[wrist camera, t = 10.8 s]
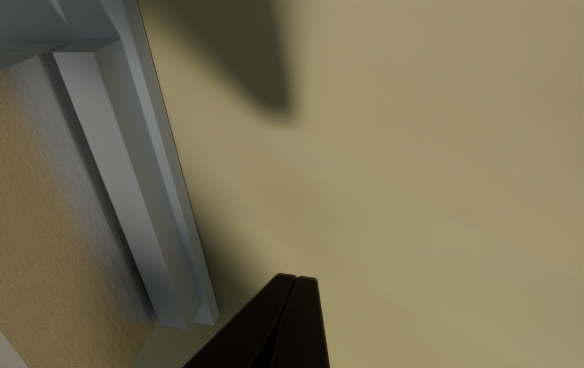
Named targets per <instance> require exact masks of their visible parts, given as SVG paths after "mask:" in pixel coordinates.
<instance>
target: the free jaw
mask: <svg viewBox="0 0 584 368" xmlns="http://www.w3.org/2000/svg"><path fill="white" fill-rule="evenodd" d="M67 45H68V44H67V42H64V43H0V368H129V367H130V366H131V364H132V362H133V361H134V359H135V357H136V356H137V354H138V353H139V351H140V349H141V348H142V346H143V344H144V343H145V341H146V339H147V338H148V336H149V334H150V333H151V331H152V329H153V328H154V326H155V324H156V323H157V321H158V318H157V315H156V313H155V310H154V308H153V305H152V303H151V300H150V298H149V295H148V292H147V290H146V287H145V285H144V282H143V280H142V277H141V275H140V272H139V270H138V267H137V265H136V262H135V260H134V257H133V255H132V252H131V250H130V247H129V244H128V242H127V239H126V237H125V234H124V232H123V229H122V227H121V224H120V222H119V219H118V217H117V214H116V212H115V209H114V207H113V204H112V202H111V199H110V196H109V194H108V191H107V189H106V186H105V184H104V181H103V179H102V176H101V174H100V171H99V169H98V166H97V164H96V161H95V159H94V156H93V153H92V151H91V148H90V146H89V143H88V141H87V138H86V136H85V133H84V131H83V128H82V126H81V123H80V121H79V118H78V116H77V113H76V111H75V108H74V105H73V103H72V100H71V98H70V95H69V93H68V90H67V88H66V85H65V83H64V80H63V78H62V75H61V73H60V70H59V68H58V65H57V63H56V60H55V57H54V55H53V52H54V51H56V50H58V49H61V48H63V47H65V46H67Z"/></svg>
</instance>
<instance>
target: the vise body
mask: <svg viewBox="0 0 584 368" xmlns="http://www.w3.org/2000/svg"><path fill="white" fill-rule="evenodd" d="M64 42H67V44H68V45H67V46H65V47H63V48H61V49H58V50H56V51H54V52H53V55H54V57H55V60H56V63H57V65H58V68H59V70H60V73H61V75H62V78H63V80H64V83H65V85H66V88H67V90H68V93H69V95H70V98H71V100H72V103H73V105H74V108H75V111H76V113H77V116H78V118H79V121H80V123H81V126H82V128H83V131H84V133H85V136H86V138H87V141H88V143H89V146H90V148H91V151H92V153H93V156H94V159H95V161H96V164H97V166H98V169H99V171H100V174H101V176H102V179H103V181H104V184H105V186H106V189H107V191H108V194H109V196H110V199H111V202H112V204H113V207H114V209H115V212H116V214H117V217H118V219H119V222H120V224H121V227H122V229H123V232H124V234H125V237H126V239H127V242H128V244H129V247H130V250H131V252H132V255H133V257H134V260H135V262H136V265H137V267H138V270H139V272H140V275H141V277H142V280H143V282H144V285H145V287H146V290H147V292H148V295H149V298H150V300H151V303H152V305H153V308H154V310H155V313H156V315H157V318H158V320H159V323H160V325H161V326H165V327H171V328H176V329H182V330H189V328H190V326H191V324H192V322H194V323H200V324H206V325H212V326H214V325H215V323H216V321H217V319H218V317H219V311H218V307H217V303H216V299H215V296H214V292H213V288H212V284H211V280H210V277H209V273H208V269H207V265H206V261H205V258H204V254H203V250H202V246H201V242H200V239H199V235H198V231H197V227H196V223H195V220H194V216H193V212H192V208H191V205H190V201H189V197H188V193H187V189H186V186H185V182H184V178H183V174H182V170H181V167H180V163H179V159H178V155H177V151H176V148H175V144H174V140H173V136H172V132H171V129H170V125H169V121H168V117H167V113H166V110H165V106H164V102H163V98H162V95H161V91H160V87H159V83H158V79H157V76H156V72H155V68H154V64H153V60H152V57H151V53H150V49H149V45H148V41H147V38H146V34H145V30H144V26H143V22H142V19H141V15H140V11H139V7H138V3H137V0H0V43H64Z"/></svg>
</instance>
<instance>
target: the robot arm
mask: <svg viewBox="0 0 584 368" xmlns="http://www.w3.org/2000/svg"><path fill="white" fill-rule="evenodd" d="M182 368H330V364H329V357H328V350H327V343H326V336H325V329H324V322H323V315H322V308H321V301H320V294H319V288H318V281H317V279H316V278H313V277H306V276H299V277H298V278H297V276H295V275H291V274H284V273H279V274H277V275H275V276H274V277H273V278H272V279H271V280H270V281H269V282H268V283H267V284H266V285H265V286H264V287H263V288H262V289H261V290H260V291H259V292H258V293H257V294H256V295H255V296H254V297H253V298H252V299H251V300H250V301H249V302H248V303H247V304H246V305H245V306H244V307H243V308H242V309H241V310H240V311H239V312H238V313H237V314H236V315H235V316H234V317H233V318H232V319H231V320H230V321H229V322H228V323H227V324H226V325H225V326H224V327H223V328H222V329H221V330H220V331H219V332H218V333H217V334H216V335H215V336H214V337H213V338H212V339H211V340H210V341H209V342H208V343H207V344H206V345H205V346H204V347H203V348H202V349H200V350H199V351H198V352H197V353H196V354H195V355H194V356H193V357H192V358H191V359H190V360H189V361H188V362H187V363H186V364H185V365H184V366H183V367H182Z"/></svg>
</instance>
